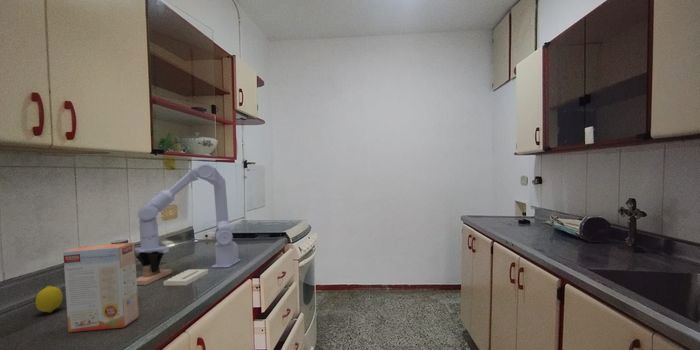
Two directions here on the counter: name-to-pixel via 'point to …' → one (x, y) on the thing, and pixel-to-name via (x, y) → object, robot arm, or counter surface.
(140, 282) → the stub
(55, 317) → the counter surface
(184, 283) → the board
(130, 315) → the cracker box
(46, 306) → the lemon
